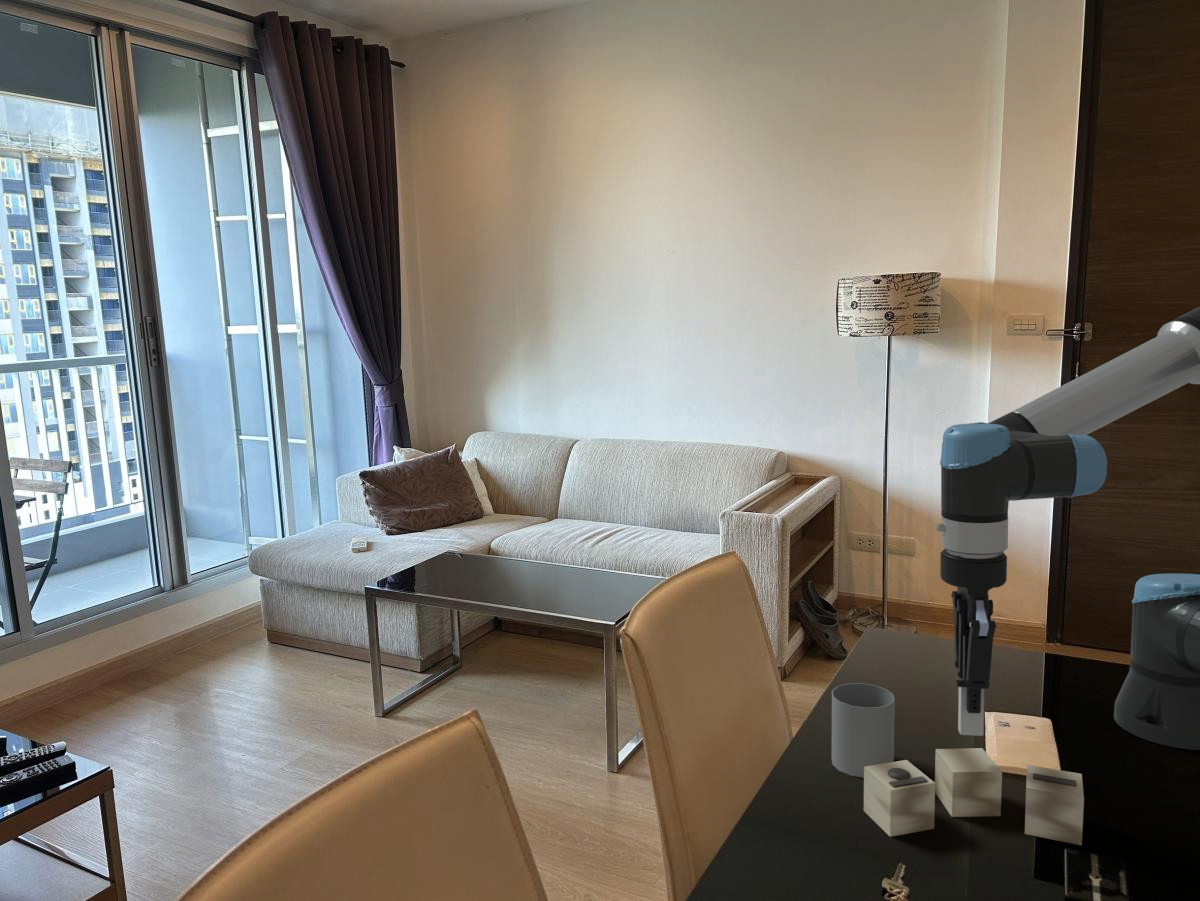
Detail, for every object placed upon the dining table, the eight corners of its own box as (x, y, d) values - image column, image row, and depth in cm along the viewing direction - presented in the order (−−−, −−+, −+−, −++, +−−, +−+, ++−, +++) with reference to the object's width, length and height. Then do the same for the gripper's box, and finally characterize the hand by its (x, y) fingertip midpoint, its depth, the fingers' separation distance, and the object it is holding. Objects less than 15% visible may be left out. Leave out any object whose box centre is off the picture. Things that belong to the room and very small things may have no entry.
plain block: (980, 791, 115) (982, 748, 114) (1000, 816, 109) (1002, 771, 108) (934, 792, 115) (935, 749, 114) (951, 817, 109) (953, 772, 109)
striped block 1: (905, 803, 113) (906, 758, 112) (934, 829, 107) (935, 781, 106) (863, 811, 111) (864, 765, 110) (890, 837, 106) (890, 788, 105)
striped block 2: (1079, 819, 108) (1081, 772, 107) (1081, 846, 103) (1083, 796, 102) (1025, 809, 111) (1027, 763, 110) (1024, 834, 105) (1026, 786, 104)
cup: (896, 780, 118) (897, 709, 117) (833, 775, 120) (833, 706, 119) (889, 750, 127) (890, 684, 125) (830, 747, 128) (830, 681, 127)
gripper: (931, 537, 115) (930, 709, 118) (951, 564, 102) (949, 756, 105) (993, 537, 113) (990, 711, 117) (1020, 565, 101) (1016, 759, 104)
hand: (970, 732), depth 111 cm, fingers closed
